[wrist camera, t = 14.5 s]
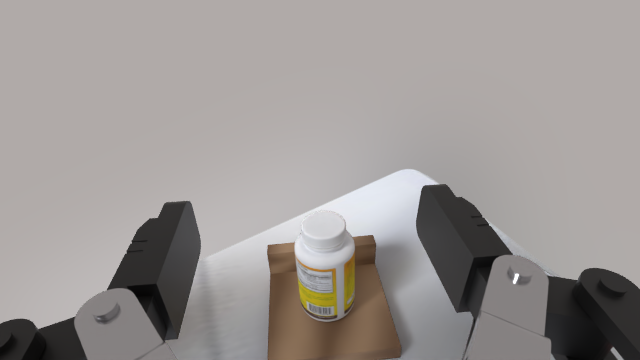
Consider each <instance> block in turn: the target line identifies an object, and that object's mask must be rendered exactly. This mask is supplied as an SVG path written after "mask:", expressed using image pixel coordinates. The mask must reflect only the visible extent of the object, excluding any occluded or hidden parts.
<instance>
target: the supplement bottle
mask: <svg viewBox="0 0 640 360" xmlns="http://www.w3.org/2000/svg"><path fill="white" fill-rule="evenodd" d="M294 248H295V258H296V266H297V276H298V284H299V293H300V301H301V305H302V308H303V309H304V311H305V312H306V313H307V314H308V315H309V316H310V317H311V318H313V319H315V320H318V321H323V322H331V321H336V320H339V319H341V318H343V317H344V316H346V315H347V314H348V313H349V311H350V310H351V309H352V307H353V304H354V297H355V244H354V240H353V238H352V236H351V234H350V233H349V232H348V231H347V230H346V223H345V220H344V219H343V217H342V216H340V215H339V214H337V213H335V212H331V211H318V212H314V213H311V214H309V215H308V216H306V217H305V218H304V219H303V221H302V224H301V233H300V235H299V236H298V237H297V239H296V242H295V247H294Z"/></svg>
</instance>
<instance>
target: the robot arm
mask: <svg viewBox="0 0 640 360" xmlns="http://www.w3.org/2000/svg"><path fill="white" fill-rule="evenodd" d="M416 228H417V233H418V236H419V239H420V241H421V243H422V245H423V246H424V248H425V250H426V252H427V254H428V256H429V258H430V260H431V262H432V264H433V266H434V268H435V270H436V272H437V274H438V276H439V278H440V280H441V282H442V284H443V286H444V288H445V290H446V292H447V294H448V296H449V298H450V300H451V302H452V304H453V306H454V308H455V310H456V312H457V313H458V312H469V311H470V312H471V314H472V316H473V321H472V324H471V327H470V331H469V335H468V338H467V342H466V345H465V349H464V352H463V356H462V359H461V360H550V359H551V354H552V355H553V357H554V358H555V360H618V359H617V358H616V357H615V355H614V354H613V353H612V351H611V349H612V348H613V347H614V348H615V349H616V351H617V352H618V353H619V354H620V356H621V357H622V358H623V359H624V360H640V289H639V288H638V287H637V286H636V285H635V284H633V283H632V282H631V281H629V280H628V279H626V278H625V277H623V276H621V275H619V274H617V273H614V272H612V271H609V270H605V269H599V268H590V269H586V270H584V271H583V272H582V273H581V275H580V276H579V278H578V280H572V279H565V278H560V277H553V276H548V275H546V273H545V272H544V271H543V270H542V269H541V268H540V267H539V266H538V265H537V264H535V263H534V262H532V261H530V260H528V259H526V258H523V257H520V256H515V255H513V254H512V253H511V251H510V250H509V249H508V248H507V246H506V245H505V244H504V243H503V241H502V240H501V239H500V237H499V236H498V235H497V234H496V232H495V231H494V230H493V229H492V227H491V226H489V223H488V222H487V221H486V220H485V218H482V215H481V213H480V212H479V211H478V210H477V208H476V207H475V206H474V205H473V204H471V203H470V202H468V201H467V200H465V199H464V198H462V197H456V196H455V195H454V194H453V192H452V191H451V190H450V188H449V187H448V186H447V185H446V184H440V185H425V186H423V188H422V191H421V196H420V202H419V207H418V213H417V219H416ZM200 249H201V241H200V235H199V231H198V227H197V223H196V219H195V215H194V211H193V208H192V204H191V203H190V201H181V202H167V203H165V204H164V206H163V208H162V210H161V212H160V214H159V217H158V218H152V219H149V220H148V221H147V222H145V223H144V224H143V225H142V226H141V227H140V228H139V229H138V230H137V232H136V234H135V236H134V238H133V240H132V244H130V246H129V248H128V250H127V254H125V255H124V258H123V259H122V261H121V263H120V265H119V267H118V269H117V271H116V273H115V275H114V277H113V279H112V281H111V283H110V285H109V287H108V289H107V291H104V292H102V293H99V294H97V295H96V296H94V297H92V298H91V299H89V300H88V301H87V302H86V303H85V304H84V305H83V306H82V307H81V308H80V310H79V311H78V312H77V314H76V316H75V317H73V318H70V319H67V320H64V321H61V322H58V323H55V324H53V325H50V326H47V327H44V328H41V329H37V327H36V326H35V325H34V323H33V322H31V321H30V320H27V319H14V320H10V321H6V322H3V323H1V324H0V360H177V359H176V357H175V356H174V354H173V352H172V351H171V349H170V348H169V346H168V344H167V343H166V342H165V341H164V340H171V339H178V336H179V332H180V328H181V324H182V321H183V317H184V313H185V309H186V305H187V301H188V298H189V294H190V290H191V286H192V282H193V278H194V275H195V271H196V267H197V263H198V259H199V255H200Z"/></svg>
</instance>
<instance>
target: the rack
mask: <svg viewBox="0 0 640 360" xmlns="http://www.w3.org/2000/svg"><path fill="white" fill-rule="evenodd" d="M352 238H353V240H354V244H355V297H354V304H353V307H352V309H351V310H350V311H349V313H348V314H347V315H346V316H344V317H343V318H341V319H339V320H336V321H331V322H323V321H318V320H315V319H313V318H311V317H310V316H309V315H308V314H307V313H306V312H305V311H304V309H303V308H302V305H301V301H300V293H299V284H298V276H297V266H296V258H295V248H294V247H295V243H284V244H274V245H268V251H267V255H268V262H269V268H270V304H269V333H268V360H381V359H390V358H399V357H400V354H401V345H400V342H399V339H398V335H397V332H396V329H395V326H394V323H393V319H392V316H391V313H390V310H389V307H388V304H387V300H386V297H385V294H384V291H383V288H382V285H381V281H380V278H379V275H378V272H377V269H376V266H375V252H376V243H375V240H374V237H373V235H368V236H358V237H352Z"/></svg>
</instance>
